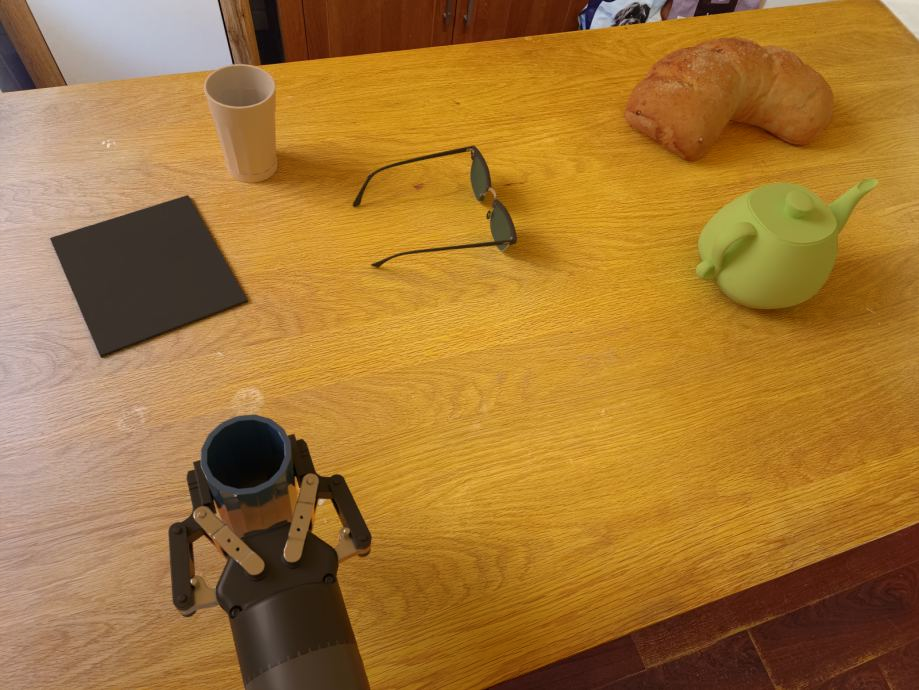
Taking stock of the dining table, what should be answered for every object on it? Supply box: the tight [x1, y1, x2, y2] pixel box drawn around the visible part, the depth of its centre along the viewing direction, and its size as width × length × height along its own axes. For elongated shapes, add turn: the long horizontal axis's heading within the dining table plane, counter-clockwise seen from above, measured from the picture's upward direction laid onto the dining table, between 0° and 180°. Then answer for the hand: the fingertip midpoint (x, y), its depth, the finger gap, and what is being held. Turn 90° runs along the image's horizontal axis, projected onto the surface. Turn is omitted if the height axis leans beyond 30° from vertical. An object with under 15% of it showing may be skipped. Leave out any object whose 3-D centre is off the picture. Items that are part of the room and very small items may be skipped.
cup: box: [203, 63, 279, 184], centre depth 89 cm, size 8×8×12 cm
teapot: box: [695, 177, 879, 310], centre depth 89 cm, size 22×15×13 cm
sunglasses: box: [352, 145, 518, 268], centre depth 90 cm, size 16×17×5 cm
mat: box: [49, 194, 249, 358], centre depth 83 cm, size 16×18×1 cm
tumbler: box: [200, 414, 299, 538], centre depth 56 cm, size 6×6×11 cm
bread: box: [624, 36, 835, 162], centre depth 107 cm, size 32×20×10 cm, turn 107°
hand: (245, 452), depth 56 cm, fingers closed on tumbler, 6 cm apart
